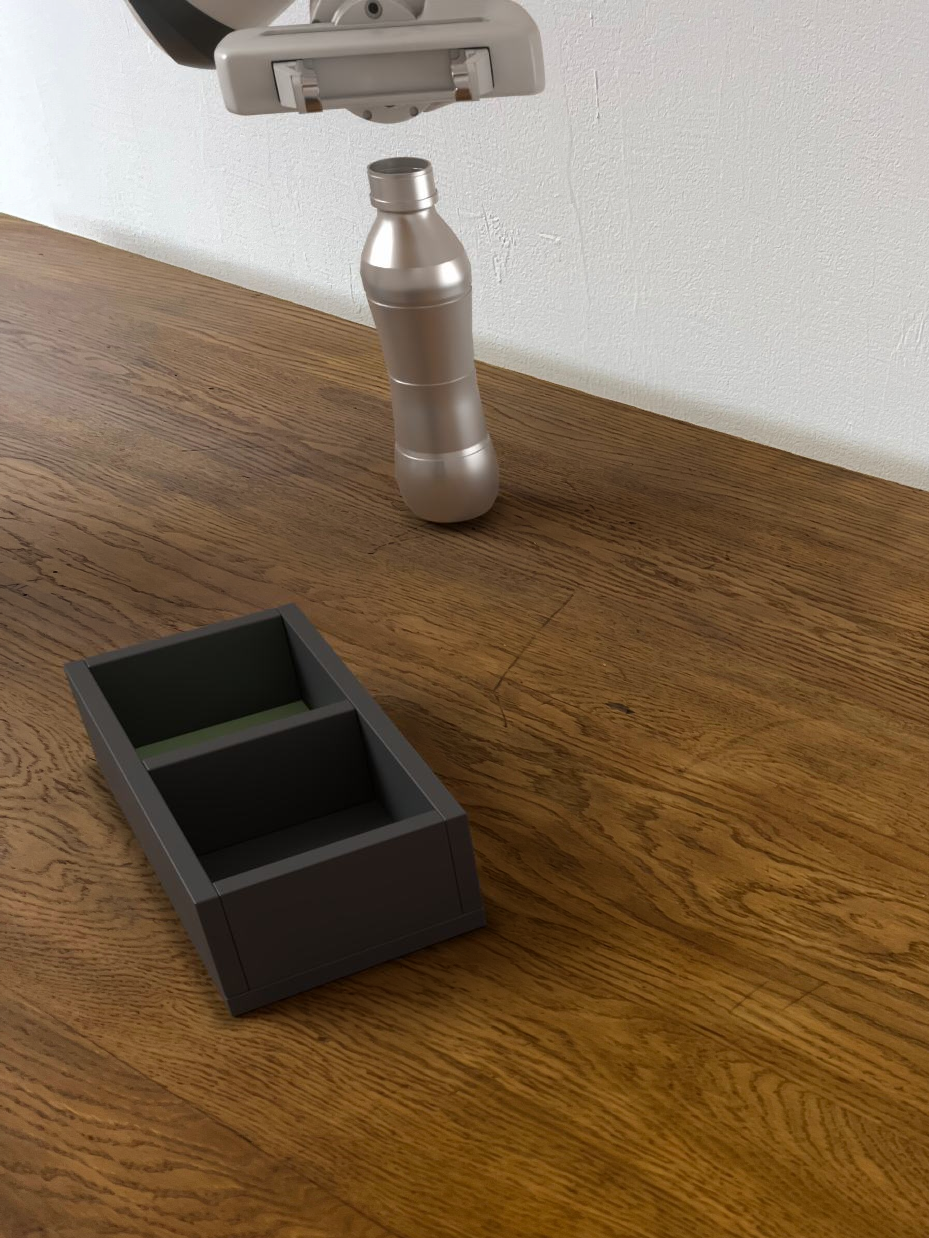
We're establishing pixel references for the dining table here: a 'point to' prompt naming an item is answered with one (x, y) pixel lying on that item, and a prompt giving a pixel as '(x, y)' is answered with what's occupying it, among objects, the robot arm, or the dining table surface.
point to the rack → (277, 804)
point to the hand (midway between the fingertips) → (387, 92)
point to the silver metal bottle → (427, 346)
